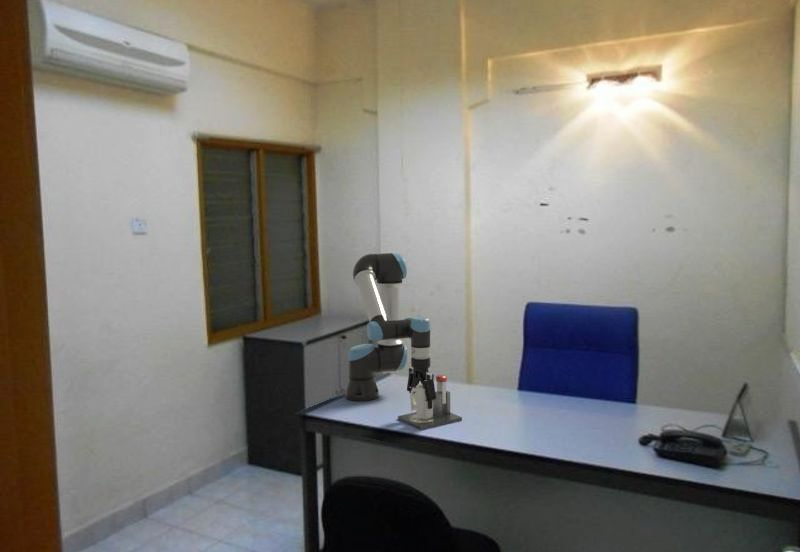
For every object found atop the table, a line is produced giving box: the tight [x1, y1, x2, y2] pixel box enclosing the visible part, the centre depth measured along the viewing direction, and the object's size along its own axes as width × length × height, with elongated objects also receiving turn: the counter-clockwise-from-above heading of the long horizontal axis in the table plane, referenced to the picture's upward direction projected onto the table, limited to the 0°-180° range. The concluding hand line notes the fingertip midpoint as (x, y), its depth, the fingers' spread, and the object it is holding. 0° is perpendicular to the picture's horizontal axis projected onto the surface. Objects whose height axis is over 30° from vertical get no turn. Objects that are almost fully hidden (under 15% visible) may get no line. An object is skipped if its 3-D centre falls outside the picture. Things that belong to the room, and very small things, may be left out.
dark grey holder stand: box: [397, 390, 463, 431], centre depth 240 cm, size 16×20×10 cm
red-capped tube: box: [435, 374, 448, 404], centre depth 243 cm, size 4×4×11 cm
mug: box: [409, 383, 433, 419], centre depth 238 cm, size 10×7×12 cm, turn 54°
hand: (421, 412), depth 238 cm, fingers closed on mug, 9 cm apart
